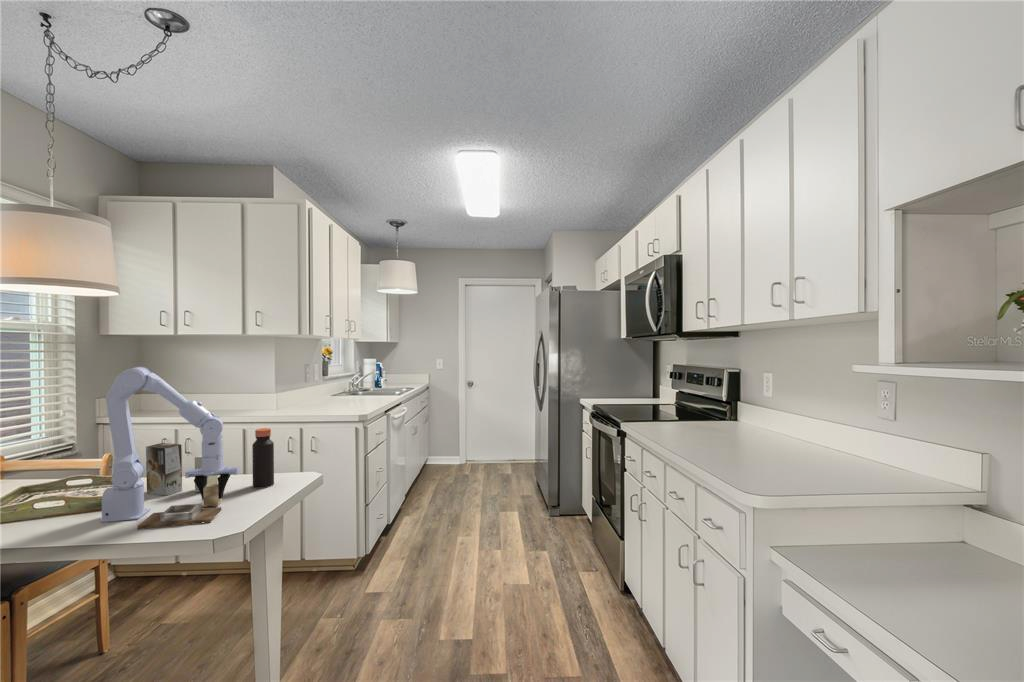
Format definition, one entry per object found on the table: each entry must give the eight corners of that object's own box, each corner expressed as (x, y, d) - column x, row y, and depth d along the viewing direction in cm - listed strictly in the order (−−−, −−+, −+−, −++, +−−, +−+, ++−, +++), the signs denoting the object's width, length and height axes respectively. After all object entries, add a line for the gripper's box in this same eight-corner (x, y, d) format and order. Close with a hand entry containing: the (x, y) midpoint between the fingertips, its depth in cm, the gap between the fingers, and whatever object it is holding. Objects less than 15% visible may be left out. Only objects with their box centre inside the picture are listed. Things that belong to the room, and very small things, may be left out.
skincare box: (207, 492, 169) (206, 457, 169) (194, 492, 169) (193, 457, 169) (218, 486, 175) (218, 452, 175) (206, 486, 175) (205, 452, 175)
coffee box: (183, 490, 171) (183, 444, 171) (165, 496, 165) (165, 448, 165) (163, 488, 174) (162, 442, 174) (145, 493, 168) (144, 446, 168)
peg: (203, 507, 154) (203, 488, 154) (207, 503, 158) (207, 484, 158) (217, 506, 155) (217, 486, 155) (221, 501, 159) (221, 483, 159)
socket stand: (137, 529, 137) (137, 518, 137) (153, 516, 147) (153, 506, 147) (211, 522, 142) (210, 512, 142) (221, 510, 152) (221, 500, 152)
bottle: (253, 484, 178) (252, 428, 178) (274, 481, 181) (273, 427, 181) (252, 489, 172) (251, 432, 172) (273, 486, 175) (273, 430, 175)
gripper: (181, 460, 151) (181, 504, 151) (234, 457, 154) (234, 500, 155) (189, 454, 157) (190, 497, 158) (240, 451, 161) (240, 493, 161)
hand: (212, 498), depth 157 cm, fingers closed on peg, 4 cm apart
